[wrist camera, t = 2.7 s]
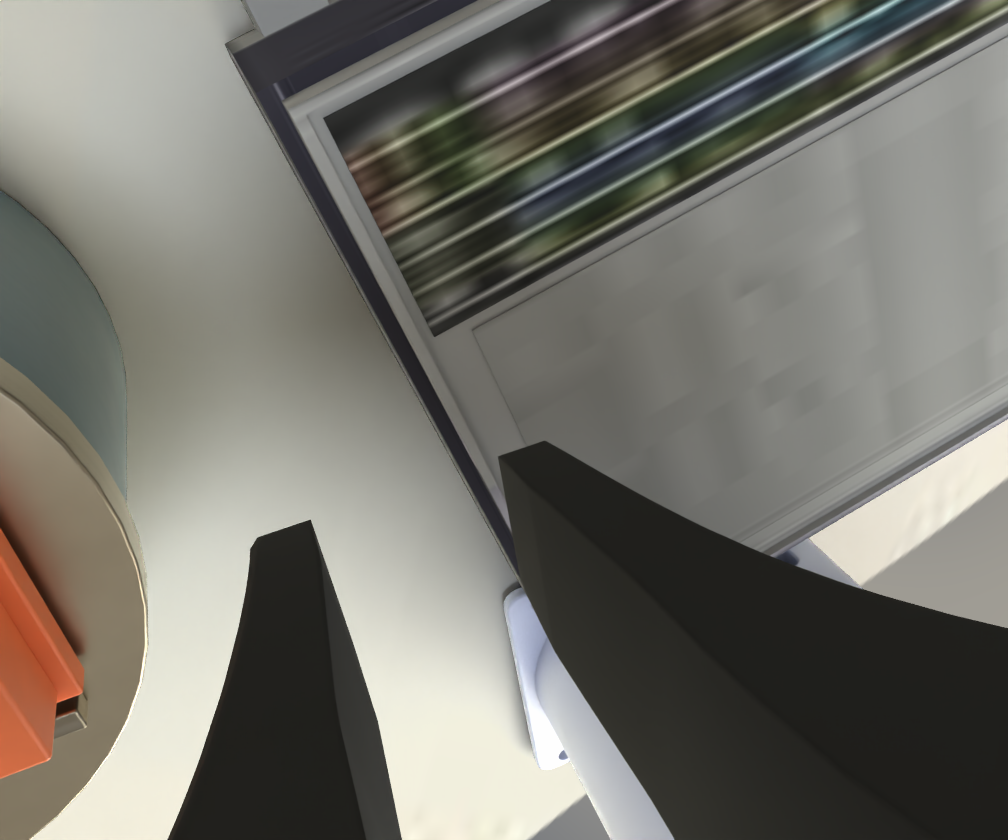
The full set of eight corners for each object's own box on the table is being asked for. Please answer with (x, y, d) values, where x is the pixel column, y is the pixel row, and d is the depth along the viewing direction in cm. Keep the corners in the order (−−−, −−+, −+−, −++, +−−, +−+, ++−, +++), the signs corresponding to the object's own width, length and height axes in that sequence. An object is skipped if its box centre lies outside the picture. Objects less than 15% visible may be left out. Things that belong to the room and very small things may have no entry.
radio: (597, 717, 21) (69, -254, 10) (518, 582, 26) (87, -204, 14) (1384, 243, 24) (1705, -1010, 12) (1190, 192, 28) (1289, -767, 16)
